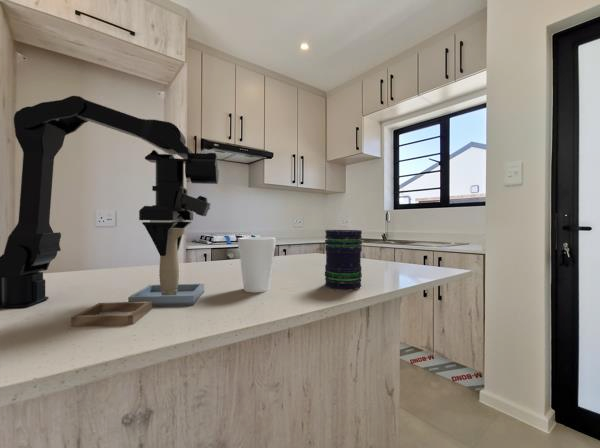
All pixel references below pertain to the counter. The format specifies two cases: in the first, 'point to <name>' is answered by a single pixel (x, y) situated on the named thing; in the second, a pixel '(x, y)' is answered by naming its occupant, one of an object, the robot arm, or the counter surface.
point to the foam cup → (256, 262)
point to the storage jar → (343, 259)
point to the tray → (185, 295)
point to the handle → (170, 264)
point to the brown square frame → (92, 319)
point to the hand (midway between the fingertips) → (169, 253)
